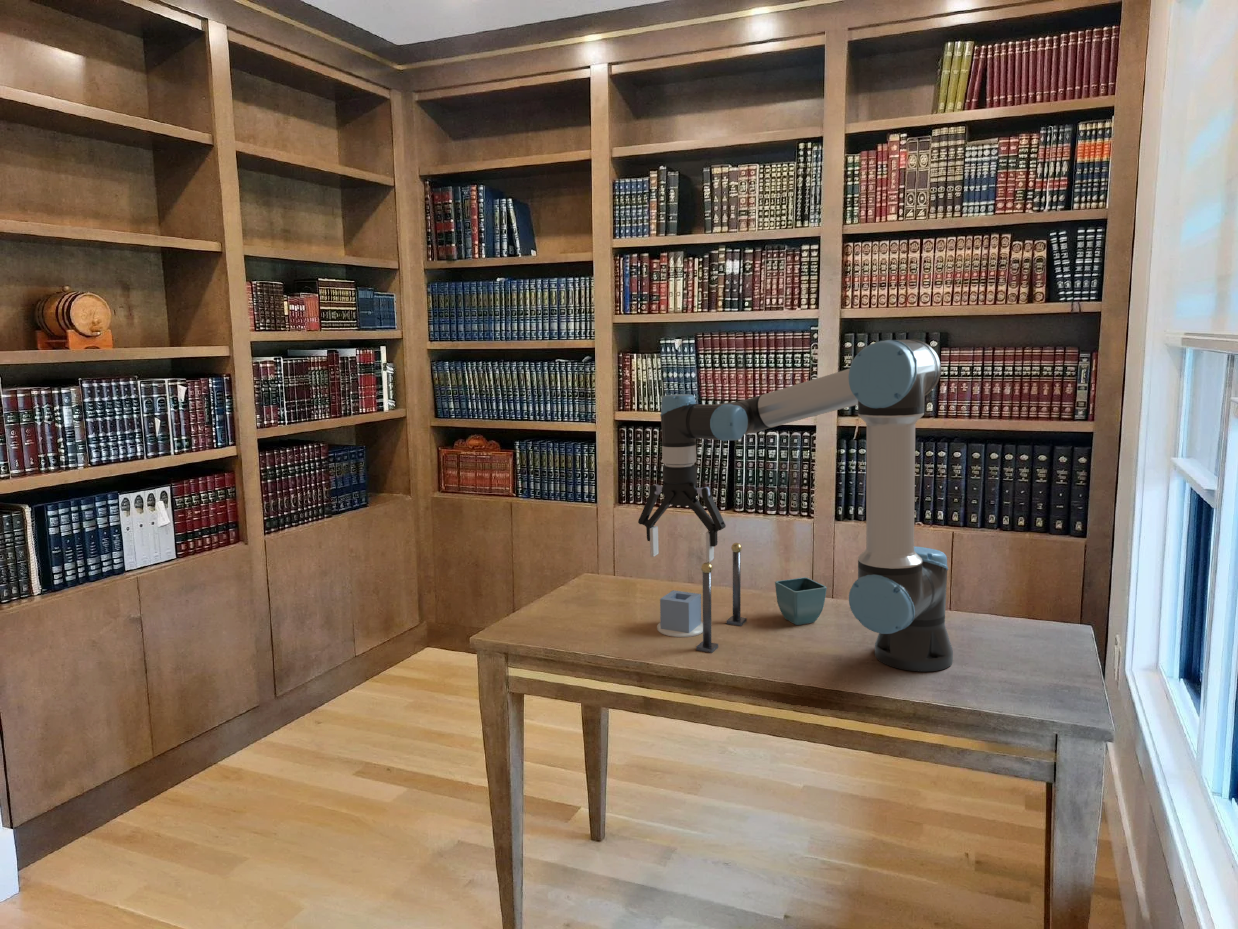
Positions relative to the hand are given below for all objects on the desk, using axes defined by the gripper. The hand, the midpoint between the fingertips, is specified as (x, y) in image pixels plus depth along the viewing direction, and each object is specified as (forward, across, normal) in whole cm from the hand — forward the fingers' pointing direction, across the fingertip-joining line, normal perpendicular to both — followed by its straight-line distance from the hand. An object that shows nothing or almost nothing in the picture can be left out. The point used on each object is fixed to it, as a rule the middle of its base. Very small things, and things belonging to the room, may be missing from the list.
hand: (682, 557), depth 191 cm
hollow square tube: (+16, +1, 0) cm, 16 cm away
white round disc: (+17, +1, 0) cm, 17 cm away
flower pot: (+17, -22, -16) cm, 32 cm away
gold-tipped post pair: (+17, -9, 0) cm, 19 cm away
